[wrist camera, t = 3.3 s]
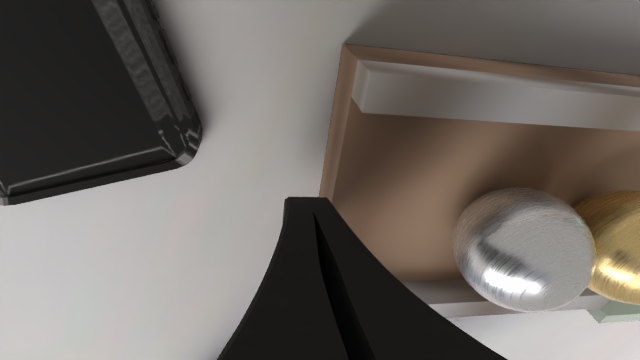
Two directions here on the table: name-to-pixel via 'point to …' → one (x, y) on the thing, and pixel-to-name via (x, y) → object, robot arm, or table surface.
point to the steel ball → (524, 249)
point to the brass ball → (614, 243)
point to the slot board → (467, 153)
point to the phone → (88, 97)
